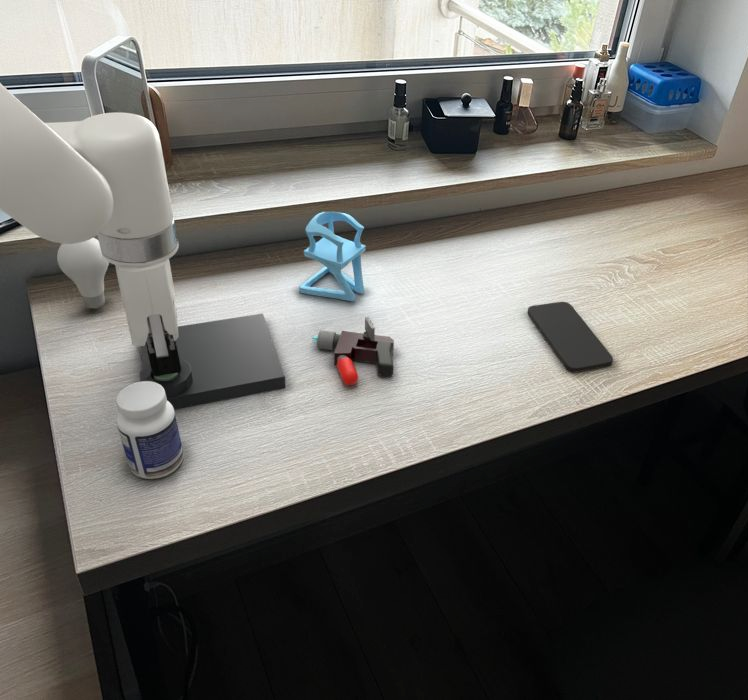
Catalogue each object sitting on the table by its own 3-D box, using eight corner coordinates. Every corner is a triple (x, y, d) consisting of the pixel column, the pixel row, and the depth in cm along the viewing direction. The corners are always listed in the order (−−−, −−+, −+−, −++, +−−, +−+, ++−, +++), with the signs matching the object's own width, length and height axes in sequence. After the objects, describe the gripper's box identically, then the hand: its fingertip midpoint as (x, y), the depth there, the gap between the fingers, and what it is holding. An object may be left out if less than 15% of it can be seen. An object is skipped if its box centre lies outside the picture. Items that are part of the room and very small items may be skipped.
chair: (344, 309, 106) (344, 238, 99) (298, 291, 108) (294, 220, 101) (372, 285, 112) (374, 216, 104) (327, 269, 114) (326, 200, 107)
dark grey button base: (147, 414, 86) (142, 392, 84) (138, 344, 95) (133, 322, 93) (285, 387, 92) (284, 366, 90) (263, 324, 101) (261, 303, 99)
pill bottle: (192, 446, 82) (179, 381, 76) (171, 484, 78) (155, 418, 72) (143, 439, 83) (126, 373, 76) (119, 477, 78) (99, 410, 72)
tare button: (156, 390, 86) (153, 380, 85) (153, 375, 88) (151, 365, 87) (180, 385, 87) (179, 376, 86) (178, 371, 89) (176, 361, 88)
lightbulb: (113, 290, 104) (96, 222, 97) (125, 312, 100) (109, 243, 94) (67, 301, 101) (46, 232, 94) (78, 324, 97) (58, 254, 90)
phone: (570, 369, 99) (524, 306, 109) (568, 374, 99) (524, 311, 110) (616, 361, 101) (568, 300, 112) (615, 365, 102) (567, 304, 112)
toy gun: (314, 337, 100) (313, 309, 97) (400, 348, 100) (401, 320, 97) (296, 383, 93) (294, 353, 90) (389, 394, 93) (390, 365, 90)
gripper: (96, 207, 79) (128, 338, 90) (101, 280, 69) (138, 418, 80) (168, 200, 82) (191, 328, 93) (185, 269, 71) (208, 404, 83)
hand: (166, 370), depth 87 cm, fingers closed
